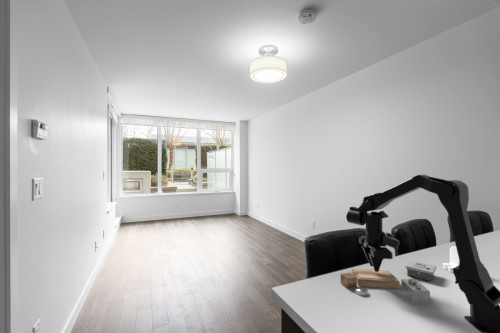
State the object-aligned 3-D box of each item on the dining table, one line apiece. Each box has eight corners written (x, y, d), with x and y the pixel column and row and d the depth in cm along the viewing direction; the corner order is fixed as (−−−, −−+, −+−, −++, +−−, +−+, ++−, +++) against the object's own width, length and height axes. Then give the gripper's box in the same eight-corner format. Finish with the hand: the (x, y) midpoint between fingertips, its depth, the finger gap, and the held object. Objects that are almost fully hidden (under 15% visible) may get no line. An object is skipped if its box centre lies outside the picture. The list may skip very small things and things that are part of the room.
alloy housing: (430, 305, 78) (430, 288, 78) (412, 303, 78) (412, 287, 78) (416, 292, 86) (416, 277, 86) (401, 291, 86) (401, 276, 86)
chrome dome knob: (369, 297, 82) (369, 293, 82) (356, 296, 83) (356, 292, 83) (365, 291, 86) (365, 287, 86) (353, 290, 87) (353, 286, 87)
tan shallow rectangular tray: (399, 288, 88) (399, 280, 88) (358, 285, 90) (358, 278, 90) (389, 277, 97) (389, 270, 97) (351, 275, 99) (351, 268, 99)
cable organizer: (442, 267, 106) (441, 244, 106) (466, 268, 105) (466, 245, 105) (450, 272, 101) (450, 248, 101) (476, 273, 100) (476, 249, 100)
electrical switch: (434, 273, 92) (405, 261, 98) (430, 285, 92) (402, 274, 98) (437, 265, 98) (410, 255, 105) (434, 277, 99) (408, 267, 105)
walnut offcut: (356, 288, 89) (356, 277, 89) (346, 289, 88) (346, 278, 88) (350, 283, 92) (350, 272, 92) (340, 284, 92) (340, 273, 92)
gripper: (408, 235, 83) (409, 281, 83) (386, 223, 102) (387, 260, 101) (373, 234, 85) (374, 279, 85) (358, 222, 103) (358, 259, 103)
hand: (374, 268), depth 93 cm, fingers open, 5 cm apart
